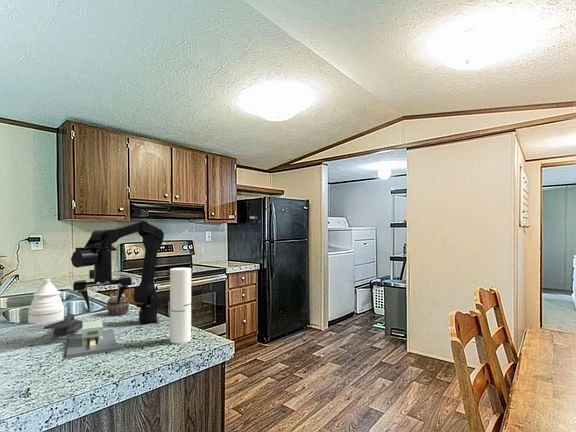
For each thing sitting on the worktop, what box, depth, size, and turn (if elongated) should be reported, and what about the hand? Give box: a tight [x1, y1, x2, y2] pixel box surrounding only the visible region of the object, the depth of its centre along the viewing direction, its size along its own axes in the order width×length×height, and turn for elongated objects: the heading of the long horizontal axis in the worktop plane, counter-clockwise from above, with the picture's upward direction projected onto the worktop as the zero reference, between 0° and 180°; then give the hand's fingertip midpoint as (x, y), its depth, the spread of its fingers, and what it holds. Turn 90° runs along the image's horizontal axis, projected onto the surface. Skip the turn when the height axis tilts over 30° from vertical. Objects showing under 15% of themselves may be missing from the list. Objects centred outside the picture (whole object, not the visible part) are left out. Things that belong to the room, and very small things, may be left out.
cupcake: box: [106, 292, 130, 317], centre depth 163 cm, size 10×10×10 cm
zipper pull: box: [43, 313, 84, 337], centre depth 131 cm, size 9×7×25 cm
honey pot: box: [27, 278, 65, 324], centre depth 153 cm, size 13×13×18 cm
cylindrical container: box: [169, 267, 192, 344], centre depth 124 cm, size 7×7×25 cm
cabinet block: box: [81, 319, 104, 346], centre depth 120 cm, size 6×11×6 cm, turn 30°
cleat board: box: [65, 328, 119, 359], centre depth 120 cm, size 14×24×2 cm, turn 30°
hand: (103, 306), depth 128 cm, fingers open, 9 cm apart
